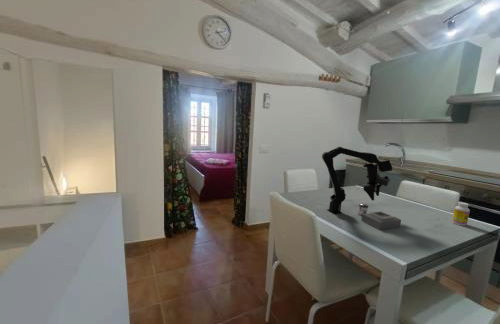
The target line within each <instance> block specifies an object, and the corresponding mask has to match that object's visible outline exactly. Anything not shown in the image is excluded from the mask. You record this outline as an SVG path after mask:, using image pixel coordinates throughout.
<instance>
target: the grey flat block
mask: <svg viewBox="0 0 500 324" xmlns="http://www.w3.org/2000/svg"><path fill="white" fill-rule="evenodd" d="M361 221H362V222H363V223H365V224H367V225H369V226H371V227H373V228H375V229H377V230H386V229H392V228H393V229H394V228H399V227H401V222H402V219H400V218H397V217H396V216H393V215H392V214H388V213H386V212H383V211H371V212H369V213H367V214H362V216H361Z"/></svg>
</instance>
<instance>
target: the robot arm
mask: <svg viewBox="0 0 500 324" xmlns="http://www.w3.org/2000/svg"><path fill="white" fill-rule="evenodd" d="M341 154H343V155H345V156H349V157H353V158H358V159H360V160H362V161H365V162H364V164H363V165H362V168H366V178H367V184H366V185H364V186H363V192H365V193H366V194H367V195H368V197H369V198H370V200H371V201H375V194H376V197H377V196H380V191H381V187H382V186H383V187H388V185H389V184H390V182H391V180H390V179H391V178H390V177H389V175H385V176H381V175H380V174H379V172H380V173H387V172H392V171H393V165H392V164H391V161H390V159H387V160H379V159H378V156H377V154H375V153H372V152H365V151H364V152H363V151H362V152H361V151H357V150H353V149H349V148H345V147H342V146H337V147H336V148H334V149H333V148H332V149H331V150H329V151H325V152H323V153H322V155H321V158H322V161H323V162H324V164H325V166H326V169H327V171H328V175H329V178H330V181H331V183H332V188H333V194H332V195H331V196H330V197H329V198H330V202H329V208H328V209H326V210H327V211H328V212H330V213H332V214H342V213H343V211H341V210H342V203H343V202H344V201H345V200H346V196H347V194H346V193H345V188H344V187H341V185H340V182H339V180H338V176H337V173H336V170H335V167H334V166H335V165H334V158H336V157H338V156H339V155H341ZM366 162H367V163H366Z"/></svg>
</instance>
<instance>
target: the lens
mask: <svg viewBox="0 0 500 324" xmlns="http://www.w3.org/2000/svg"><path fill="white" fill-rule="evenodd" d="M358 204H359V205H358V211H357V216H360V217H362V214H368V208H369V204H368V203H364V202H360V203H358Z"/></svg>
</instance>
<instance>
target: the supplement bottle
mask: <svg viewBox="0 0 500 324" xmlns="http://www.w3.org/2000/svg"><path fill="white" fill-rule="evenodd" d="M469 205H470V204H469V203H466V202H461V201H458V202H457V205H456V206H454V210H453V215H452V220H451V222H452V223H453V224H455V225H458V226H463V227H464V226H465V227H466V226H467V225H468V221H469V217H470V212H471V210H470V209H469V208H468V207H469Z"/></svg>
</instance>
